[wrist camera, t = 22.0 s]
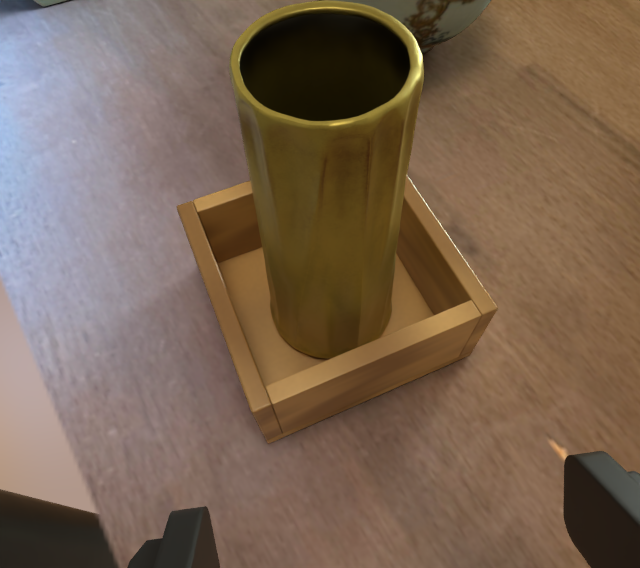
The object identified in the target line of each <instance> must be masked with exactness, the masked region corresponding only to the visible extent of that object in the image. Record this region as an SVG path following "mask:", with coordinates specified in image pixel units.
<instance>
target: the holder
mask: <svg viewBox="0 0 640 568" xmlns="http://www.w3.org/2000/svg"><path fill="white" fill-rule="evenodd" d="M177 210H178V213H179V216H180V219H181V221H182V224H183V227H184V230H185V232H186V235H187V238H188V241H189V243H190V246H191V249H192V251H193V254H194V257H195V260H196V262H197V265H198V268H199V271H200V273H201V276H202V279H203V281H204V284H205V287H206V290H207V292H208V295H209V298H210V301H211V303H212V306H213V309H214V312H215V314H216V317H217V320H218V322H219V325H220V328H221V331H222V333H223V336H224V339H225V342H226V344H227V347H228V350H229V352H230V355H231V358H232V361H233V363H234V366H235V369H236V372H237V374H238V377H239V380H240V383H241V385H242V388H243V391H244V393H245V396H246V399H247V402H248V404H249V407H250V410H251V412H252V414H253V416H254V418H255V420H256V422H257V424H258V426H259V428H260V429H261V431H262V433H263V435H264V437H265V439H266V441H267V443H268V444H269V443H271V442H274V441H276V440H278V439H281V438H283V437H285V436H287V435H290V434H292V433H294V432H296V431H299V430H301V429H303V428H306V427H308V426H310V425H312V424H315V423H317V422H319V421H321V420H324V419H326V418H328V417H331V416H333V415H335V414H337V413H340V412H342V411H344V410H347V409H349V408H351V407H353V406H356V405H358V404H360V403H362V402H365V401H367V400H369V399H372V398H374V397H376V396H378V395H381V394H383V393H385V392H387V391H390V390H392V389H394V388H397V387H399V386H401V385H403V384H406V383H408V382H410V381H413V380H415V379H417V378H419V377H422V376H424V375H426V374H428V373H431V372H433V371H435V370H438V369H440V368H442V367H444V366H447V365H449V364H451V363H453V362H456V361H458V360H460V359H463V358H465V357H467V356H469V355H470V354H471V353H472V350H473V349H474V347H475V346H476V344H477V342H478V341H479V339H480V337H481V336H482V334H483V332H484V331H485V329H486V328H487V326H488V324H489V323H490V321H491V319H492V318H493V316H494V314H495V313H496V311H497V309H498V307H497V306H496V304H495V303H494V301H493V300H492V298H491V297H490V295H489V294H488V293H487V291H486V290H485V288H484V287H483V285H482V284H481V282H480V281H479V279H478V278H477V276H476V275H475V274H474V272H473V271H472V269H471V268H470V266H469V265H468V263H467V262H466V260H465V259H464V257H463V256H462V255H461V253H460V252H459V250H458V249H457V247H456V246H455V244H454V243H453V241H452V240H451V238H450V237H449V236H448V234H447V233H446V231H445V230H444V228H443V227H442V225H441V224H440V222H439V221H438V219H437V218H436V217H435V215H434V214H433V212H432V211H431V209H430V208H429V206H428V205H427V203H426V202H425V200H424V199H423V198H422V196H421V195H420V193H419V192H418V190H417V189H416V187H415V186H414V184H413V183H412V182H411V180H410V179H409V177H408V176H406V182H405V190H404V198H403V205H402V211H401V220H400V229H399V235H398V242H397V249H396V260H395V272H394V280H393V288H392V298H391V300H392V313H391V317H390V320H389V322H388V324H387V326H386V328H385V330H384V332H383V333H382V335H381V336H380V337H379V339H377V340H374V341H372V342H369V343H367V344H365V345H362V346H360V347H357V348H355V349H353V350H350V351H348V352H346V353H343V354H341V355H338V356H336V357H334V358H331V359H326V358H318V357H313V356H310V355H308V354H305V353H302V352H300V351H298V350H296V349H295V348H294V347H292V346H291V345H290V344H289V343H288V342H287V341H285V340H284V338H283V337H282V336H281V335H280V333H279V332H278V330H277V329H276V326H275V324H274V321H273V318H272V314H271V309H270V291H269V286H268V280H267V274H266V266H265V259H264V253H263V248H262V243H261V238H260V232H259V227H258V221H257V215H256V209H255V204H254V199H253V193H252V187H251V181H248V182H245V183H242V184H239V185H236V186H233V187H230V188H227V189H224V190H221V191H218V192H215V193H213V194H210V195H207V196H204V197H201V198H198V199H195V200H193V202H192V201H190V202H187V203H184V204H181V205H178V206H177Z"/></svg>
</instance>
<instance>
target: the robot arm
mask: <svg viewBox="0 0 640 568" xmlns="http://www.w3.org/2000/svg"><path fill="white" fill-rule="evenodd" d="M564 520H565V524H566V528H567V531H568V533H569V536H570V538H571V540H572V542H573V543H574V545H575V546H576V548H577V549H578V550H579V552H580V553H581V554H582V556H583V557H584V558H585V560H586V561H587V563H588V564H589V565H590V567H591V568H640V474H639V473H637V472H635V471H631V472H627V471H626V470H625V469H623V468H622V467H621V466H620V465H619V464H618V463H617V462H616V461H615V460H614V459H613V458H612V457H611V456H610V455H608V454H607V453H606V452H604V451H597V452H590V453H583V454H576V455H569V456H567V458H566V460H565V465H564ZM128 568H220V564H219V559H218V554H217V549H216V544H215V539H214V534H213V529H212V524H211V519H210V514H209V511H208V508H207V507H206V506H205V507H198V508H191V509H184V510H177V511H172V512H171V513H170V515H169V518H168V522H167V525H166V528H165V531H164V535H163V538H161V539H154V540H147V541H146V542H145V543H144V545H143V546H142V547H141V548H140V549H139V551H138V552H137V553H136V554H135V556H134V557H133V558H132V559H131V560H130V562H129V565H128Z"/></svg>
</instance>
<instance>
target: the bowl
mask: <svg viewBox="0 0 640 568" xmlns="http://www.w3.org/2000/svg"><path fill="white" fill-rule="evenodd" d="M319 1H322V0H319ZM331 1H344V2H353V3H359V4H364V5H368V6H371V7H374V8H376V9H379V10H381V11H383V12H385V13H387V14H389V15H391V16H393V17H394V18H395V19H397V20H398V21H400V22H401V23H402V24H403V25H404V26H405V27H406V28H407V29H408V30H409V31H410V32H411V33H412V35H413V36H414V38H415V39H416V41H417V43H418V46H419V48H420V51H421V53H422V54H424V53H426V52H428V51H430V50H431V49H432V48H433V47H434V46H435V45H437V44H440V43H442V42H445V41H447V40H449V39H451V38H453V37H454V36H456V35H457V34H459V33H460V32H462V31H463V30H464V29H466V28H467V27H468V26H469V25H470V24H471V23H472V22H474V21H475V20H476V19H477V17H478V16H479V15H480V14H481V13H482V11H483V10H484V9H485V8H486V7H487V5H488V4H489V3H490V1H491V0H331Z"/></svg>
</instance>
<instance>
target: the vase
mask: <svg viewBox="0 0 640 568" xmlns="http://www.w3.org/2000/svg"><path fill="white" fill-rule="evenodd" d="M229 74H230V79H231V83H232V86H233V90H234V94H235V100H236V106H237V111H238V116H239V121H240V127H241V133H242V139H243V144H244V150H245V155H246V160H247V165H248V171H249V176H250V181H251V187H252V193H253V199H254V204H255V209H256V215H257V221H258V227H259V232H260V238H261V243H262V248H263V253H264V259H265V266H266V274H267V280H268V286H269V291H270V309H271V314H272V318H273V321H274V324H275V326H276V329H277V330H278V332H279V333H280V335H281V336H282V337H283V338H284V340H285V341H287V342H288V343H289V344H290V345H291V346H292V347H294V348H295V349H296V350H298V351H300V352H302V353H305V354H308V355H310V356H313V357H318V358H326V359H331V358H334V357H336V356H338V355H341V354H343V353H346V352H348V351H350V350H353V349H355V348H357V347H360V346H362V345H365V344H367V343H369V342H372V341H374V340H377V339H379V337H380V336H381V335H382V333H383V332H384V330H385V328H386V326H387V324H388V322H389V320H390V317H391V313H392V300H391V298H392V288H393V280H394V272H395V260H396V249H397V242H398V235H399V229H400V220H401V211H402V205H403V198H404V190H405V182H406V176H407V171H408V166H409V160H410V155H411V149H412V143H413V137H414V130H415V124H416V118H417V112H418V107H419V102H420V97H421V92H422V88H423V81H424V65H423V56H422V53H421V51H420V48H419V46H418V43H417V41H416V39H415V38H414V36H413V35H412V33H411V32H410V31H409V30H408V29H407V28H406V27H405V26H404V25H403V24H402V23H401V22H400V21H398V20H397V19H395V18H394V17H393V16H391V15H389V14H387V13H385V12H383V11H381V10H379V9H376V8H374V7H371V6H368V5H364V4H359V3H353V2H344V1H331V0H322V1H313V2H306V3H300V4H293V5H289V6H285V7H282V8H279V9H277V10H274V11H272V12H270V13H268V14H266V15H264V16H262V17H260V18H259V19H258V20H256V21H255V22H254V23H253V24H251V25H250V26H249V27H248V28H247V29H246V30H245V32H244V33H243V34H242V35H241V36H240V37H239V38H238V40H237V41H236V43H235V44H234V46H233V49H232V52H231V56H230V64H229Z"/></svg>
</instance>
